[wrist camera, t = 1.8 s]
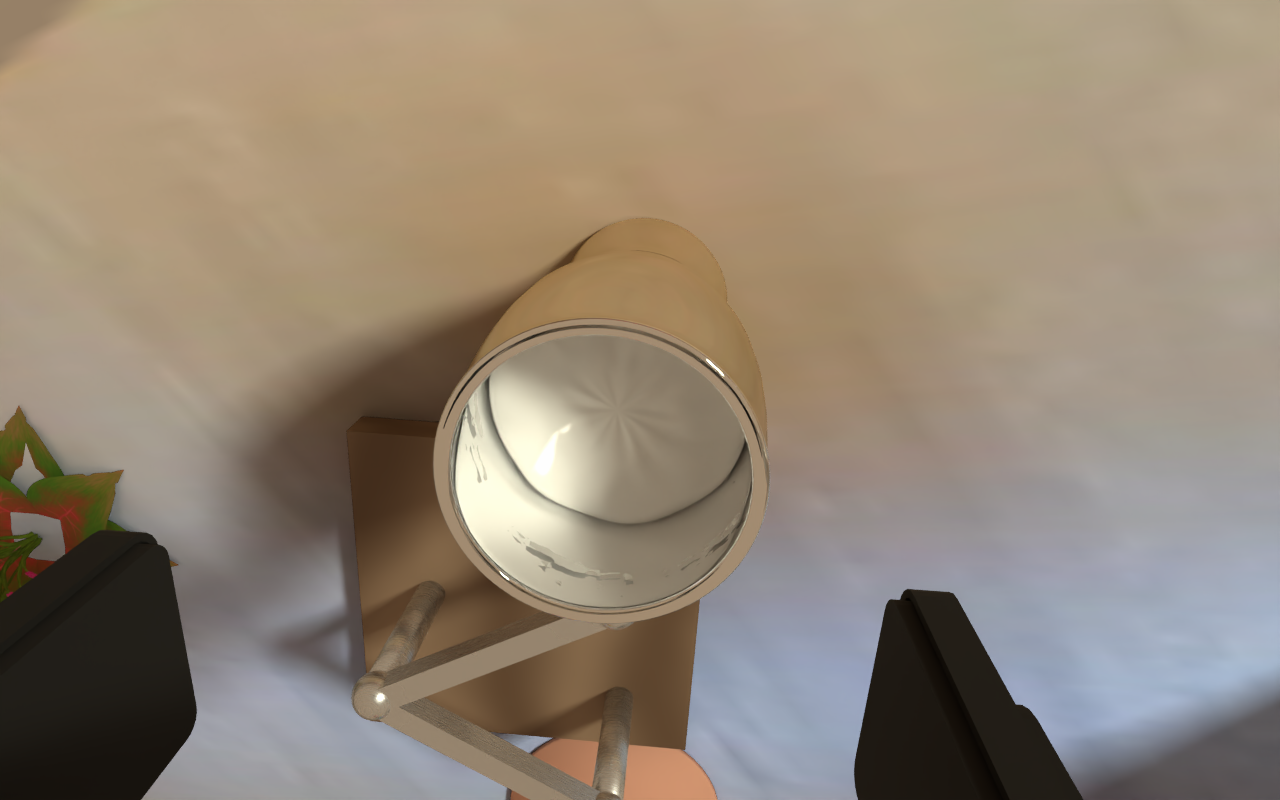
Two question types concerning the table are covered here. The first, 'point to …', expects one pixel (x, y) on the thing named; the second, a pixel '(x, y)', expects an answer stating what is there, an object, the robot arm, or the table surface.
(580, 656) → the board
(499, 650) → the bent wire
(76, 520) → the lily flower
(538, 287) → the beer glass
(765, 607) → the table surface
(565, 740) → the pad
